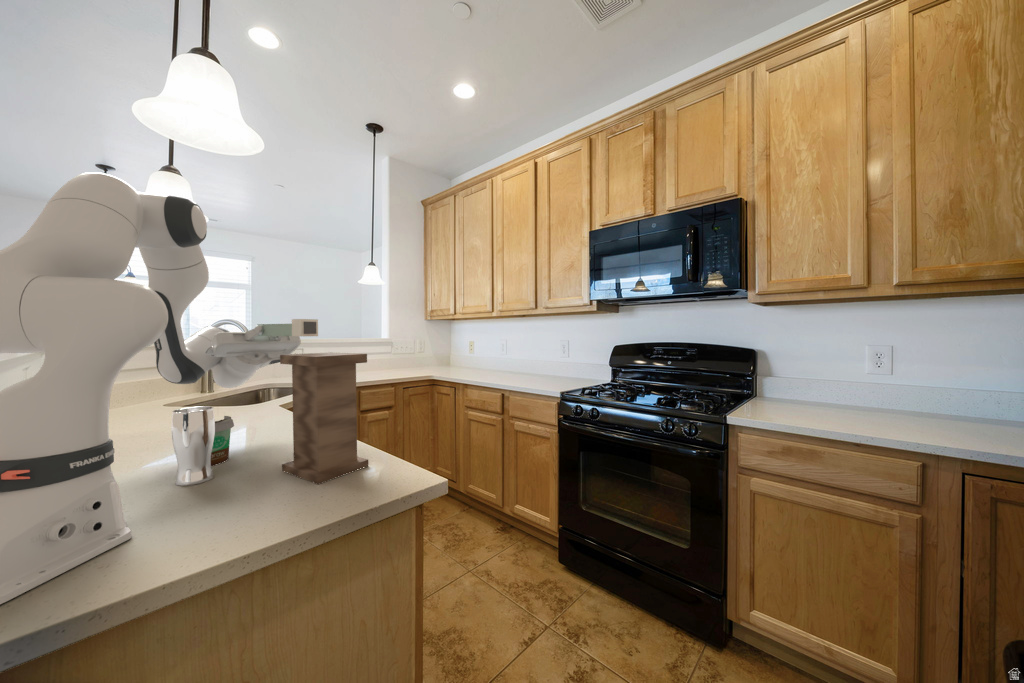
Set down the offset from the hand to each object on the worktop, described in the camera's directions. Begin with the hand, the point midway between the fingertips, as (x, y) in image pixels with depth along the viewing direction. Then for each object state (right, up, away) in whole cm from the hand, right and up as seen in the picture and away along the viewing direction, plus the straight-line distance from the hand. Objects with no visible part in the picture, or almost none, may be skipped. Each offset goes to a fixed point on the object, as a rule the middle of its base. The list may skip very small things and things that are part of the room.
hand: (270, 328), depth 97 cm
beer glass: (-4, -33, -19) cm, 38 cm away
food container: (-8, -33, -8) cm, 35 cm away
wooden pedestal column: (+21, -32, -12) cm, 40 cm away
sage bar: (+6, -2, -4) cm, 8 cm away
